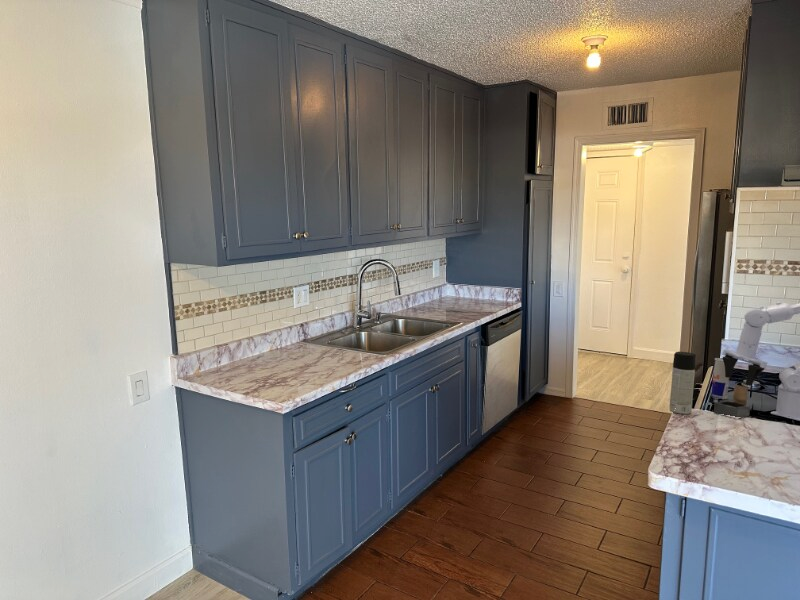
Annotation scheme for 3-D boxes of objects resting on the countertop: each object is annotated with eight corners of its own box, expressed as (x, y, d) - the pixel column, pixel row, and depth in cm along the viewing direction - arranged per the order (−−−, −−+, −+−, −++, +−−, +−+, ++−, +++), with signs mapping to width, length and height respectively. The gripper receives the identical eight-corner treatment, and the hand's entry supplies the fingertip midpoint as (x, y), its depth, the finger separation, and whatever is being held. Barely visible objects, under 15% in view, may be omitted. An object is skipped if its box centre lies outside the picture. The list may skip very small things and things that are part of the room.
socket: (749, 416, 185) (750, 405, 185) (737, 419, 181) (738, 408, 181) (725, 410, 191) (726, 400, 191) (713, 412, 187) (714, 402, 187)
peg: (748, 410, 192) (750, 387, 191) (742, 411, 190) (744, 388, 189) (736, 407, 196) (738, 384, 195) (729, 408, 193) (731, 386, 193)
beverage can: (712, 396, 210) (716, 356, 208) (728, 398, 207) (731, 359, 205) (709, 398, 206) (713, 358, 204) (725, 401, 203) (729, 360, 201)
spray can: (693, 412, 188) (698, 353, 186) (687, 416, 183) (692, 355, 181) (672, 407, 192) (677, 350, 191) (666, 411, 187) (670, 352, 186)
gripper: (721, 336, 196) (711, 373, 198) (761, 349, 183) (750, 388, 185) (734, 338, 199) (724, 374, 201) (775, 350, 186) (764, 388, 188)
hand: (737, 381), depth 193 cm, fingers open, 7 cm apart
